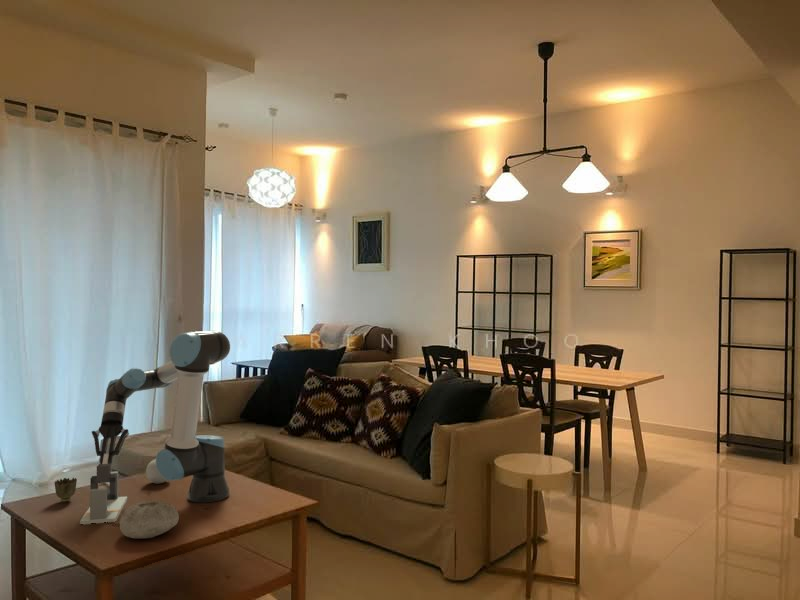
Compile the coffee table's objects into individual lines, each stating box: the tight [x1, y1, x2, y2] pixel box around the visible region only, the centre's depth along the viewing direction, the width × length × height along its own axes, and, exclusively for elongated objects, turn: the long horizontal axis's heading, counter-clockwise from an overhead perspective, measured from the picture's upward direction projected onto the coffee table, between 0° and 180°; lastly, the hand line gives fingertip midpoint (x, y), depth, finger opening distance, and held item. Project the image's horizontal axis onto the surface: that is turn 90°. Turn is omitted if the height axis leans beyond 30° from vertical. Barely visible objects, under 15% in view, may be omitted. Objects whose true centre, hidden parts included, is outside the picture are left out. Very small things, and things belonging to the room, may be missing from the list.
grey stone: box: [119, 500, 180, 540], centre depth 207 cm, size 18×18×10 cm
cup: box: [53, 477, 78, 504], centre depth 239 cm, size 8×7×8 cm
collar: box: [89, 463, 117, 500], centre depth 226 cm, size 3×8×12 cm, turn 104°
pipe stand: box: [79, 471, 128, 525], centre depth 228 cm, size 24×11×11 cm, turn 14°
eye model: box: [145, 458, 167, 484], centre depth 262 cm, size 10×10×10 cm
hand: (104, 471), depth 229 cm, fingers closed
